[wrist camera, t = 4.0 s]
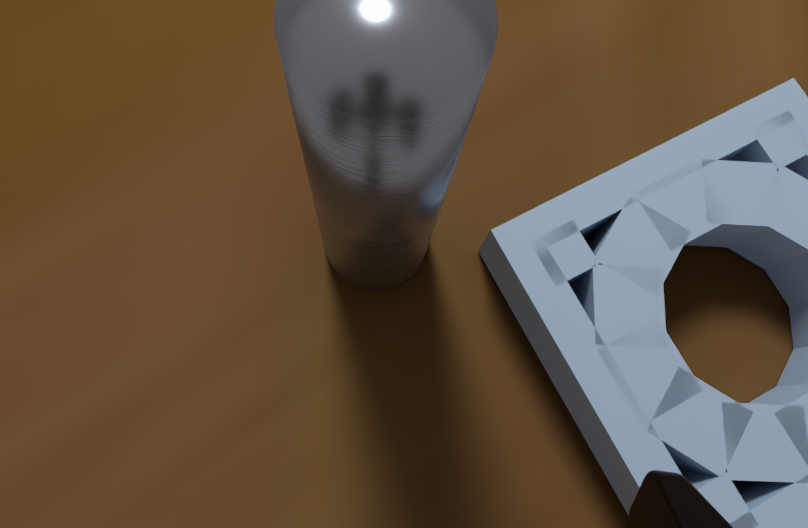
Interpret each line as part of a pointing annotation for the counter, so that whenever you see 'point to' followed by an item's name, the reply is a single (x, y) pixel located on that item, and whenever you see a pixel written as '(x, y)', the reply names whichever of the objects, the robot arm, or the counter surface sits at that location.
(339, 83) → the round bit
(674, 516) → the robot arm
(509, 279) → the holder
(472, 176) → the counter surface
